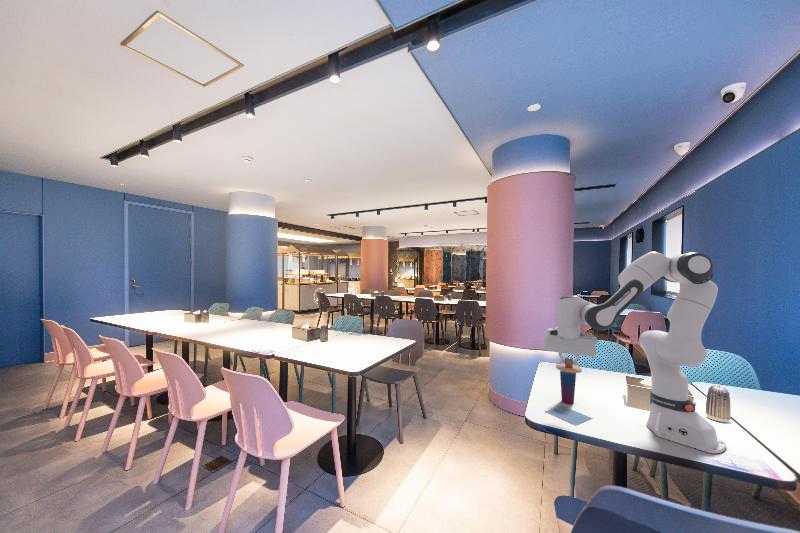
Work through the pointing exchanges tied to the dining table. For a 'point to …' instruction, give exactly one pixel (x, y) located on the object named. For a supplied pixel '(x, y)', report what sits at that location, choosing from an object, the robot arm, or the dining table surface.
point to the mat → (568, 415)
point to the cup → (567, 386)
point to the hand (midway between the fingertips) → (568, 363)
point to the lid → (569, 366)
